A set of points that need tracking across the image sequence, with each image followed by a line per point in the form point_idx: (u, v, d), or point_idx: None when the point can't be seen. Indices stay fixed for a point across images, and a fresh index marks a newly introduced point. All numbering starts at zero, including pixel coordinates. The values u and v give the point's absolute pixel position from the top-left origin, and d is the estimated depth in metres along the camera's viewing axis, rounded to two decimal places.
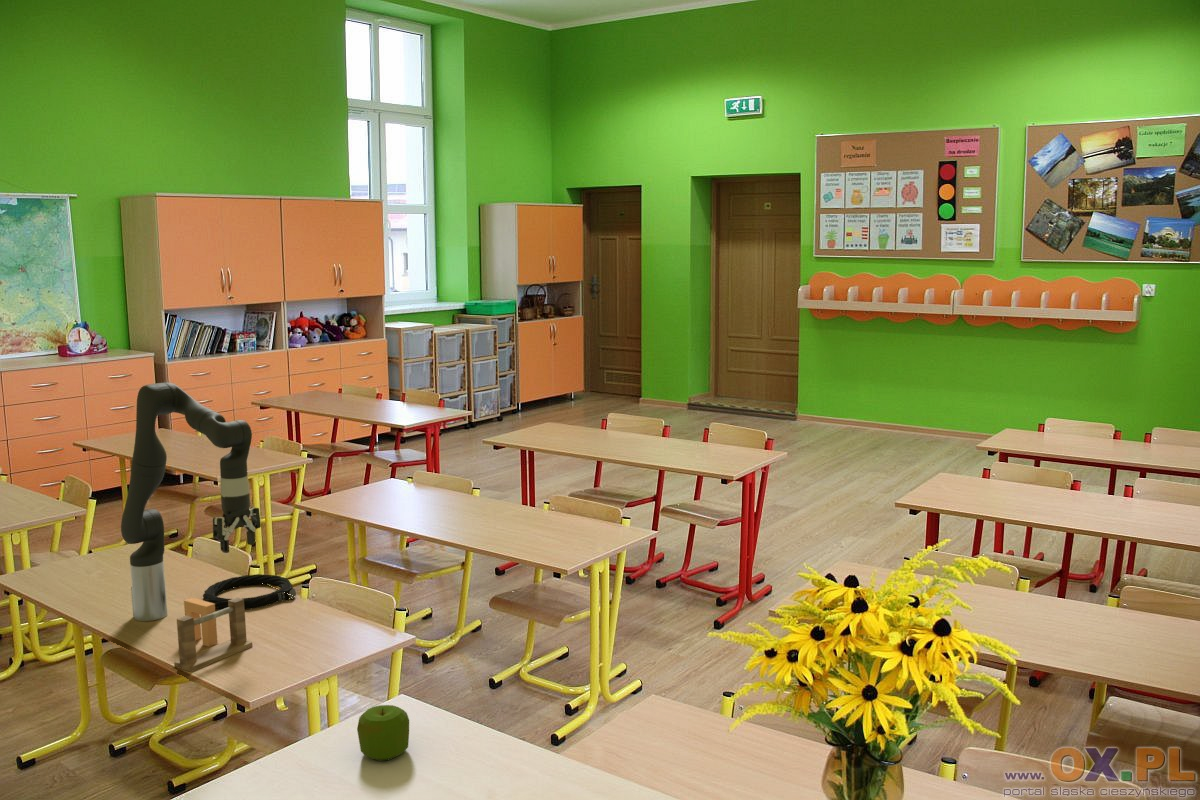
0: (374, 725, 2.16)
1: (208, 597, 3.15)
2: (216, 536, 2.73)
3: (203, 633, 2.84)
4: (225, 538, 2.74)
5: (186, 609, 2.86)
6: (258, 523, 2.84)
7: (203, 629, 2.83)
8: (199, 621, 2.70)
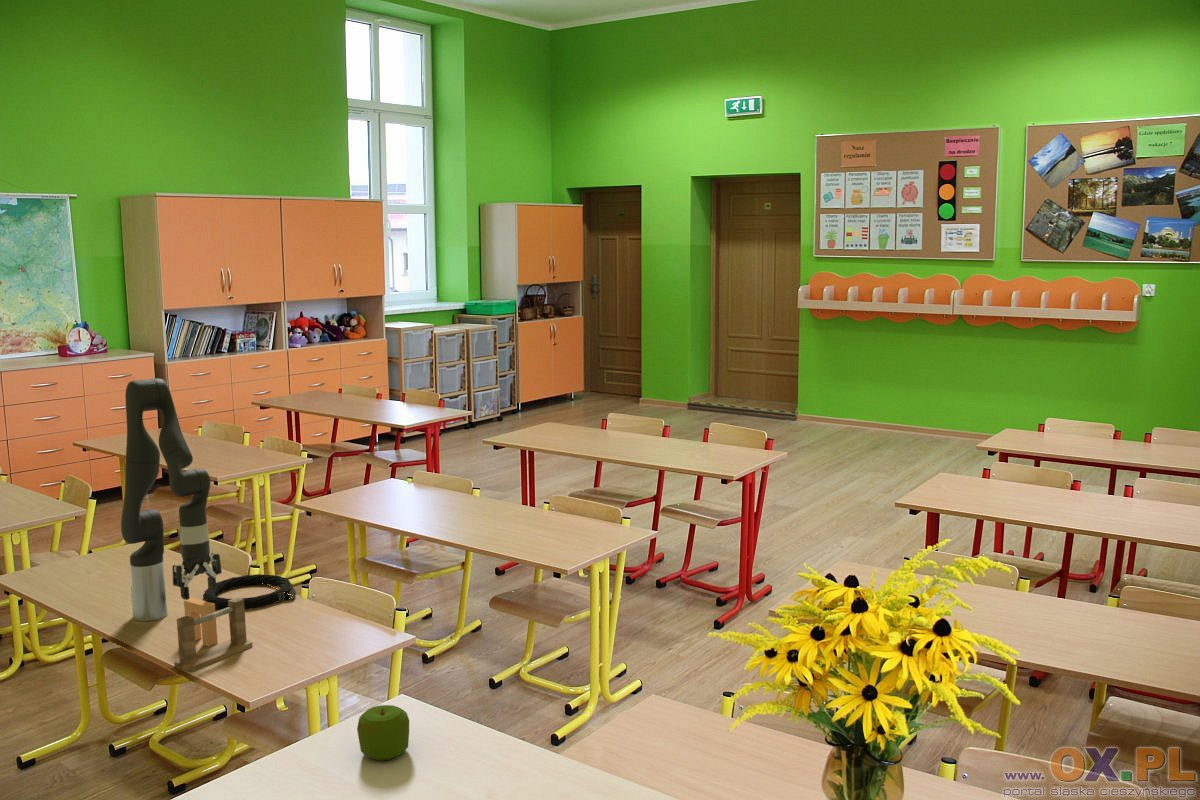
0: (374, 725, 2.16)
1: (208, 597, 3.15)
2: (176, 583, 2.78)
3: (203, 633, 2.84)
4: (185, 585, 2.79)
5: (186, 609, 2.86)
6: (219, 569, 2.88)
7: (203, 629, 2.83)
8: (199, 621, 2.70)
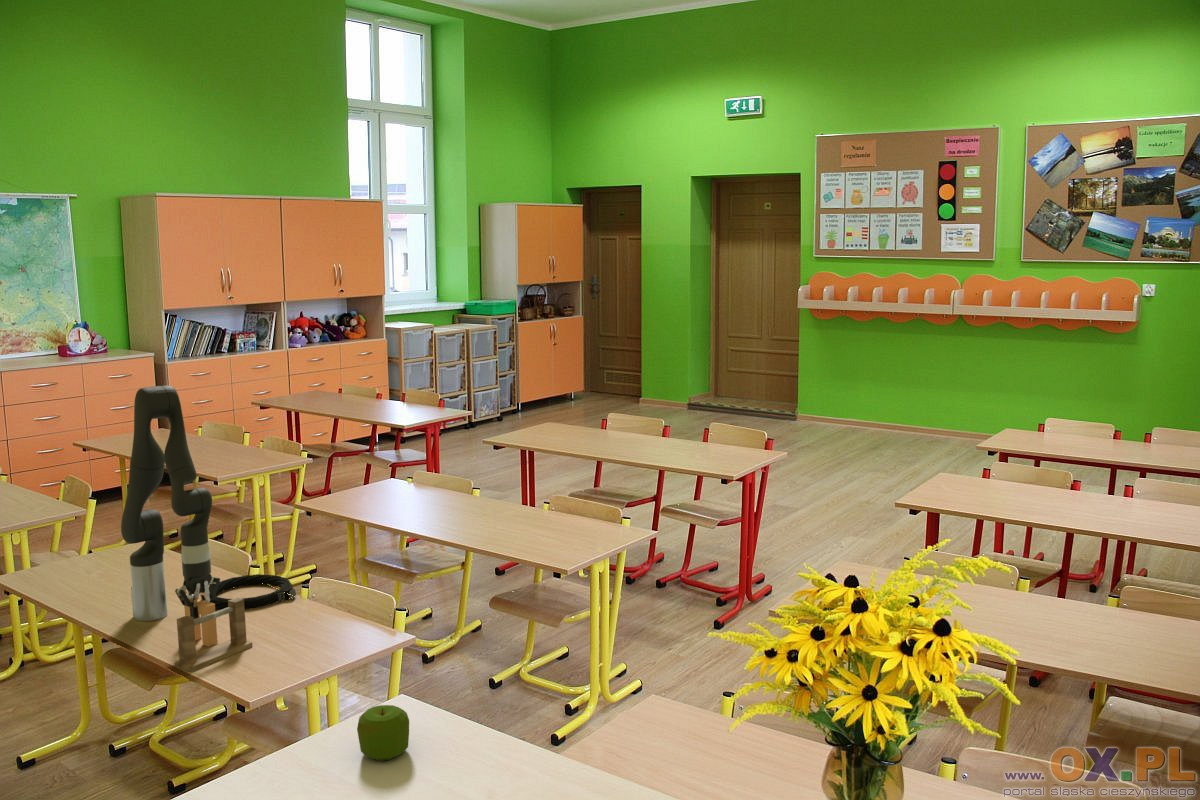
0: (374, 725, 2.16)
1: None
2: (185, 604, 2.81)
3: (203, 633, 2.83)
4: (194, 605, 2.82)
5: (186, 609, 2.86)
6: (212, 594, 2.87)
7: (203, 629, 2.83)
8: (199, 621, 2.70)
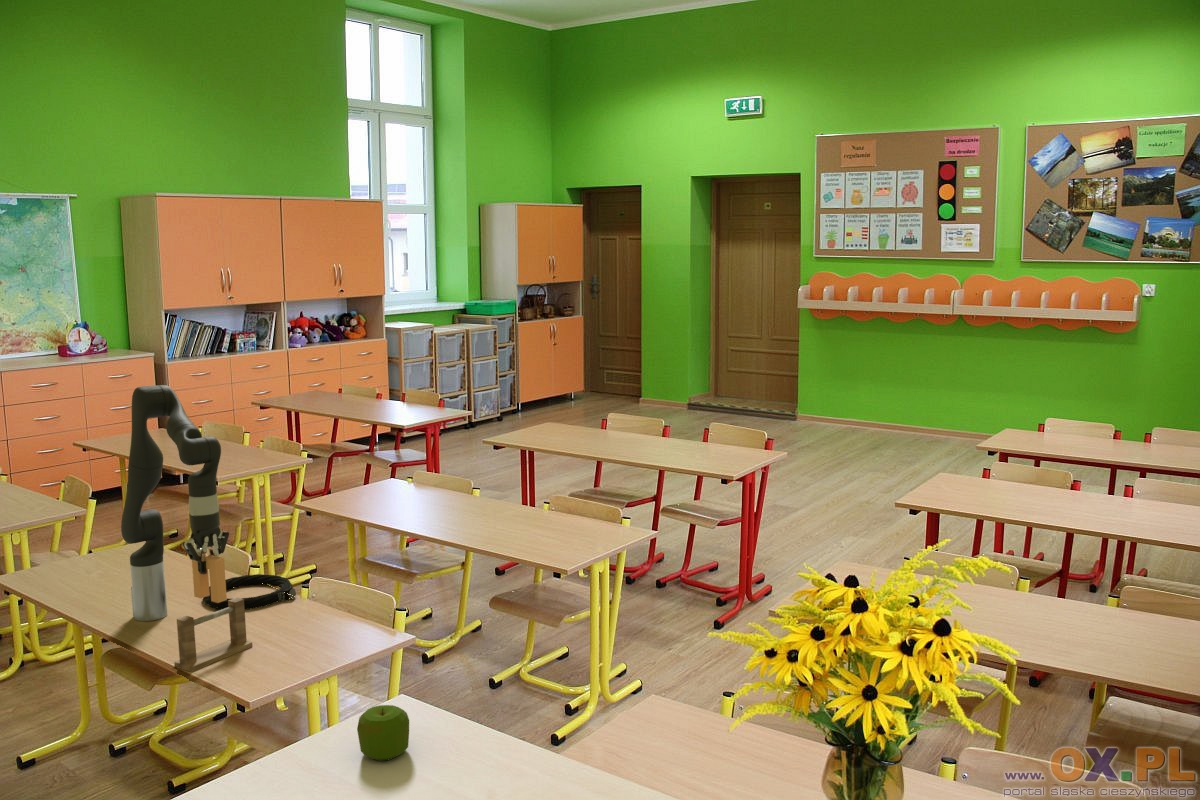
0: (374, 725, 2.16)
1: (208, 597, 3.15)
2: (193, 558, 2.68)
3: (211, 588, 2.71)
4: (202, 559, 2.69)
5: (194, 564, 2.73)
6: (221, 548, 2.74)
7: (212, 585, 2.70)
8: (199, 621, 2.70)
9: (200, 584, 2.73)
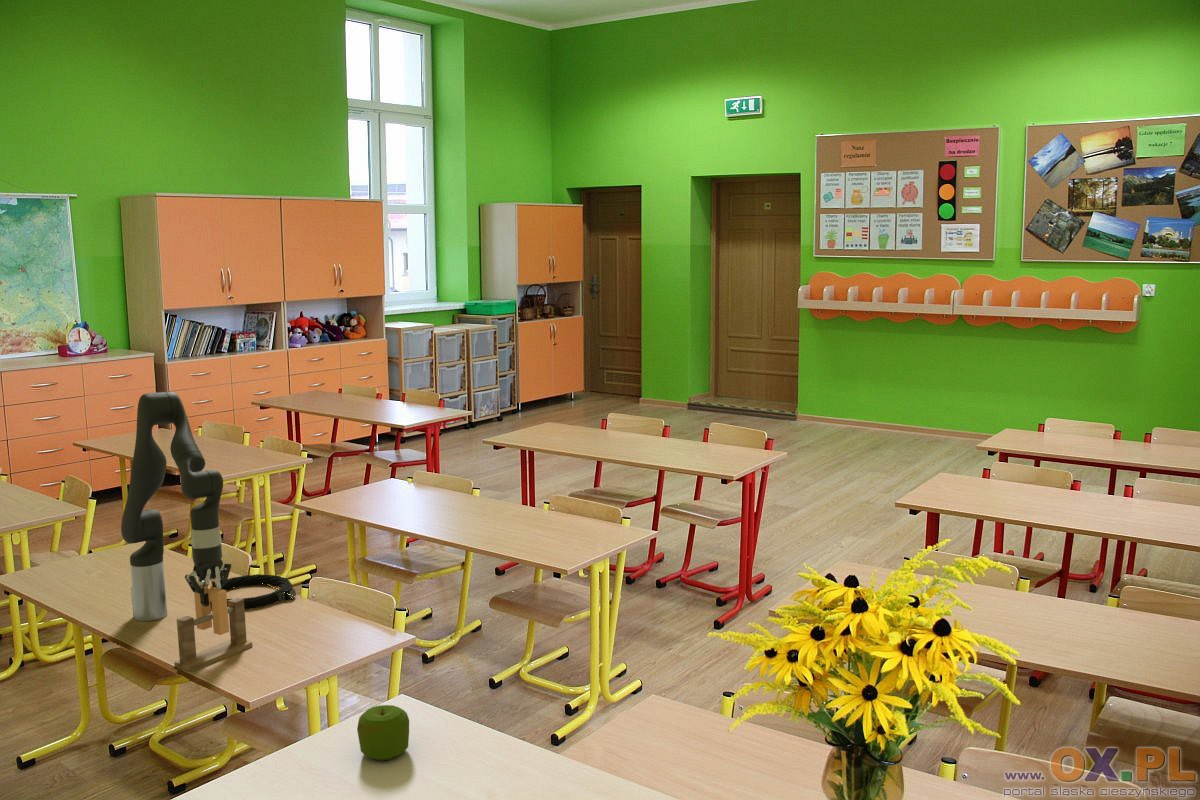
0: (374, 725, 2.16)
1: None
2: (195, 591, 2.69)
3: (214, 621, 2.72)
4: (205, 592, 2.71)
5: (196, 596, 2.75)
6: (223, 580, 2.76)
7: (214, 617, 2.72)
8: (199, 621, 2.70)
9: (202, 616, 2.75)
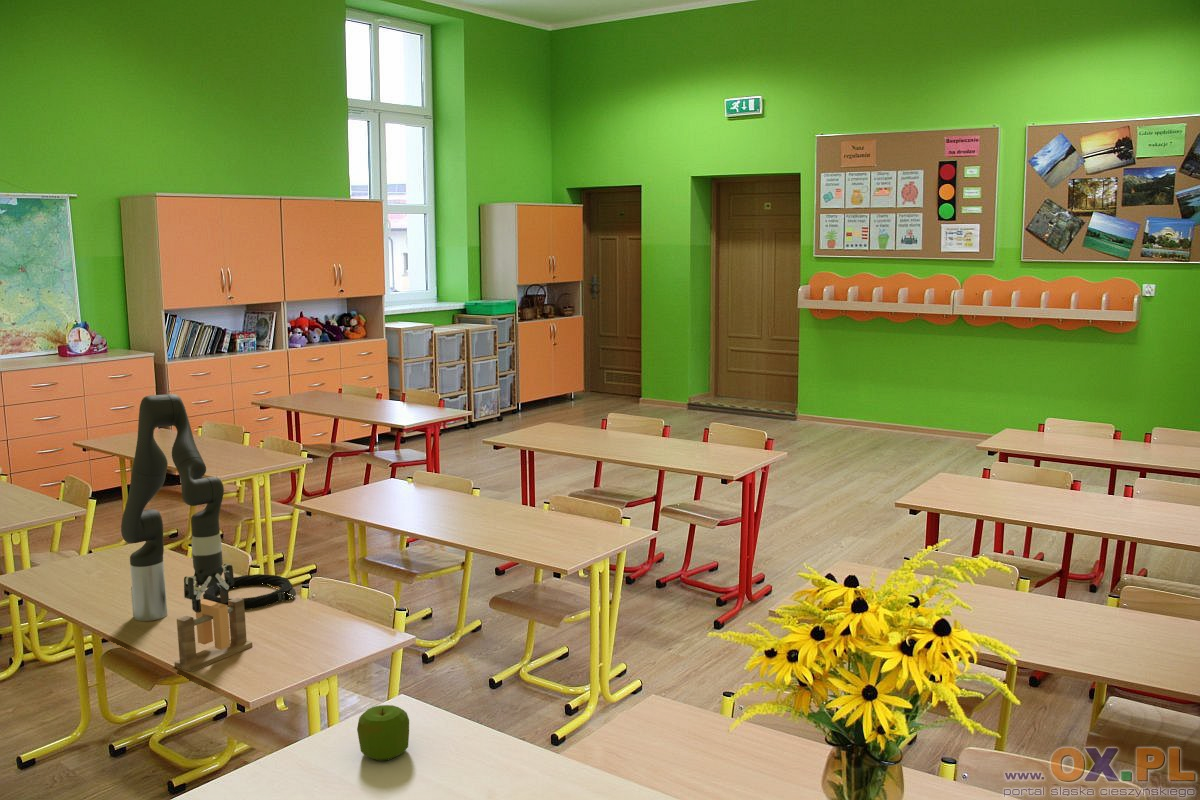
0: (374, 725, 2.16)
1: (208, 597, 3.15)
2: (187, 596, 2.67)
3: (215, 635, 2.73)
4: (197, 598, 2.69)
5: None
6: (231, 580, 2.78)
7: (215, 632, 2.72)
8: (199, 621, 2.70)
9: (203, 631, 2.75)
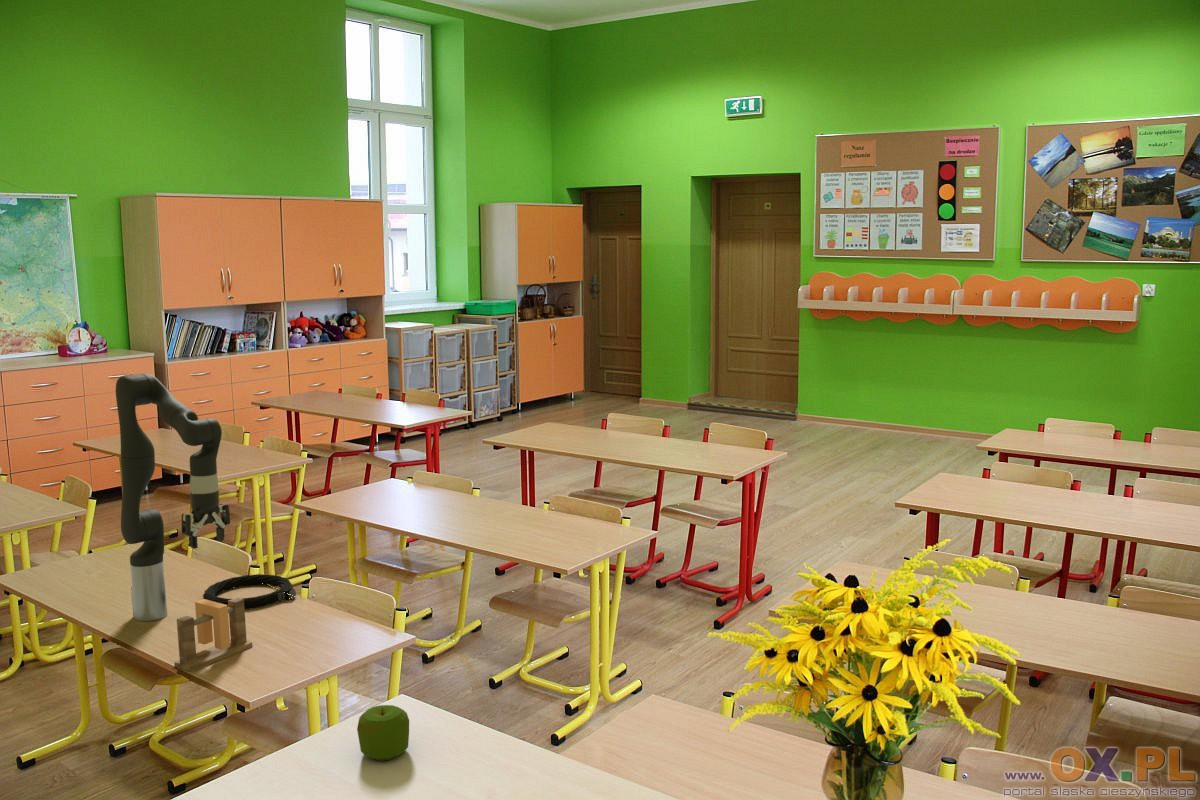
0: (374, 725, 2.16)
1: (208, 597, 3.15)
2: (184, 532, 2.78)
3: (215, 635, 2.73)
4: (193, 534, 2.79)
5: (197, 611, 2.75)
6: (227, 520, 2.88)
7: (215, 632, 2.72)
8: (199, 621, 2.70)
9: (203, 631, 2.75)
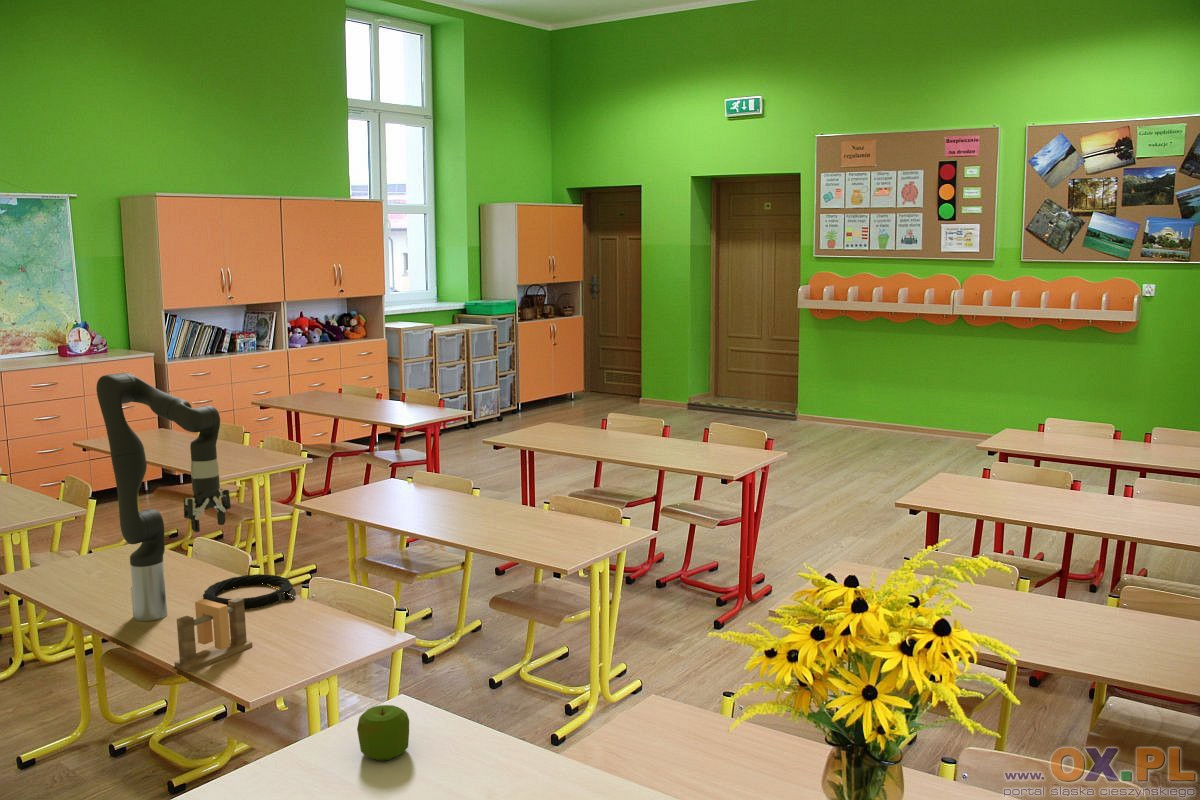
0: (374, 725, 2.16)
1: (208, 597, 3.15)
2: (187, 516, 2.88)
3: (215, 635, 2.73)
4: (195, 518, 2.89)
5: (197, 611, 2.75)
6: (228, 504, 2.98)
7: (215, 632, 2.72)
8: (199, 621, 2.70)
9: (203, 631, 2.75)
